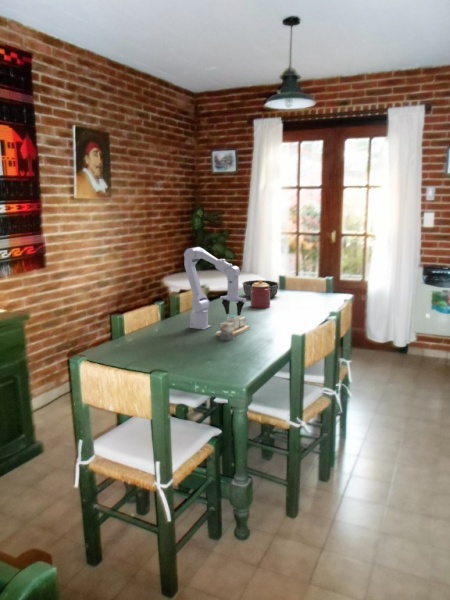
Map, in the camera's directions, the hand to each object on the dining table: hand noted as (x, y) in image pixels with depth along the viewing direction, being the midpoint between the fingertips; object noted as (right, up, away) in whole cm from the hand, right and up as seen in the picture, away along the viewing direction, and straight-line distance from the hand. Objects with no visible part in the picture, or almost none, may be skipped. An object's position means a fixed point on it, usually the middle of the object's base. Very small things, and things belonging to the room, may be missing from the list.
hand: (233, 314), depth 260 cm
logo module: (0, -7, +1) cm, 7 cm away
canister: (+19, +3, +62) cm, 65 cm away
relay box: (-4, -12, -12) cm, 17 cm away
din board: (0, -9, +2) cm, 9 cm away
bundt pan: (+21, +10, +95) cm, 98 cm away
